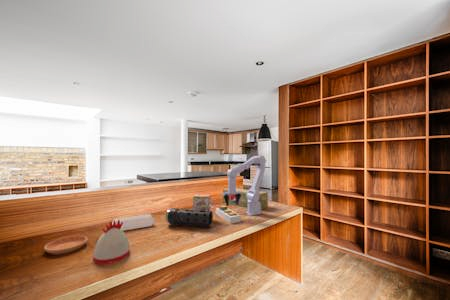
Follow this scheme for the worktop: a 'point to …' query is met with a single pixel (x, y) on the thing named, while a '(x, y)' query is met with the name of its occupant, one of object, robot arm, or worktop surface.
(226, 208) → the button
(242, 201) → the soda box
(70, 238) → the saucer
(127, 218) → the crystal
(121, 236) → the kitchen timer
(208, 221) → the muzzle brake
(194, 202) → the candy bar box
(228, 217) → the switch strip
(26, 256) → the worktop surface
